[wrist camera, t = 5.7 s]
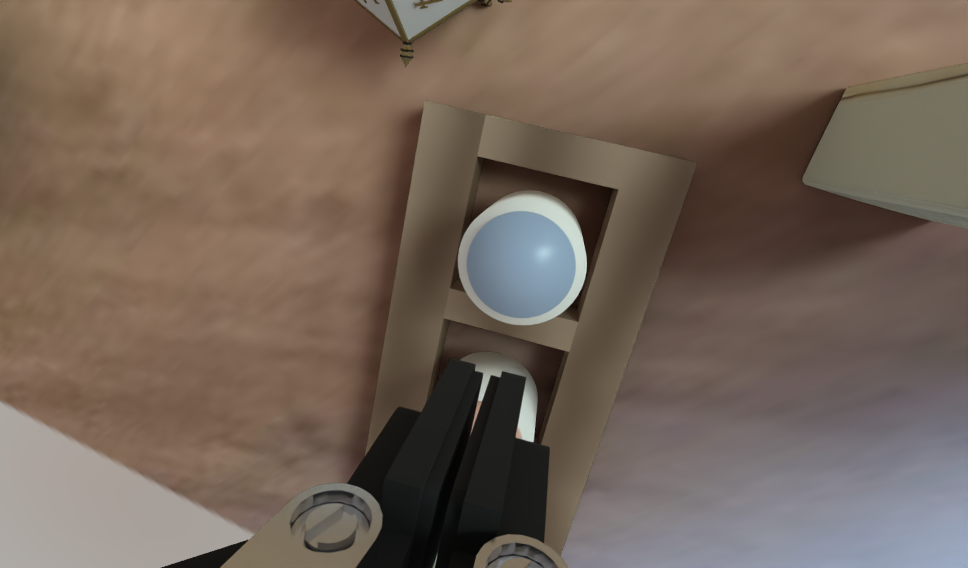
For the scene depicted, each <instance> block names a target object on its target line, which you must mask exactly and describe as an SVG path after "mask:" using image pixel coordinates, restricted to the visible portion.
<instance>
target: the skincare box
mask: <svg viewBox="0 0 968 568" xmlns="http://www.w3.org/2000/svg"><path fill="white" fill-rule="evenodd" d="M802 182H803V183H804V184H806V185H808V186H812V187H815V188H818V189H821V190H824V191H827V192H831V193H834V194H837V195H840V196H844V197H847V198H850V199H854V200H857V201H861V202H864V203H868V204H871V205H875V206H878V207H882V208H885V209H889V210H892V211H896V212H900V213H903V214H907V215H911V216H915V217H919V218H923V219H927V220H930V221H934V222H939V223H944V224H949V225H954V226H958V227H962V228H967V229H968V63H964V64H959V65H954V66H949V67H943V68H938V69H933V70H929V71H924V72H918V73H914V74H909V75H904V76H898V77H893V78H889V79H884V80H879V81H874V82H869V83H864V84H859V85H854V86H850V87H848V88H847V89H846V90H845V92H844V94H843V96H842V98H841V100H840V102H839V104H838V106H837V108H836V110H835V112H834V114H833V116H832V118H831V120H830V122H829V124H828V126H827V128H826V130H825V132H824V134H823V136H822V138H821V140H820V142H819V144H818V146H817V148H816V150H815V153H814V155H813V157H812V159H811V161H810V163H809V165H808V167H807V169H806V171H805V173H804V176H803V179H802Z"/></svg>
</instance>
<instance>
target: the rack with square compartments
mask: <svg viewBox="0 0 968 568" xmlns="http://www.w3.org/2000/svg"><path fill="white" fill-rule="evenodd" d="M484 158H487V159H492V160H496V161H500V162H504V163H508V164H513V165H517V166H521V167H525V168H530V169H534V170H538V171H542V172H546V173H551V174H555V175H559V176H563V177H568V178H572V179H576V180H580V181H584V182H589V183H593V184H597V185H601V186H606V187H610V188H613V191H612V195H611V198H610V201H609V205H608V208H607V211H606V215H605V218H604V221H603V225H602V228H601V231H600V235H599V238H598V241H597V245H596V248H595V251H594V254H593V258H592V261H591V264H590V268H589V271H588V274H587V278H586V281H585V284H584V288H583V291H582V294H581V298H580V301H579V304H578V308H577V309H576V308H572V307H568V308H567V309H566V310H565V311H563V312H562V313H561V314H559V315H558V316H556V317H554V318H552V319H550V320H548V321H545V322H542V323H539V324H533V325H513V324H508V323H505V322H502V321H499V320H496V319H494V318H492V317H490V316H489V315H487V314H486V313H484V312H483V311H482V310H481V309H479V308H478V307H477V306H476V305H475V304H474V303H473V302H472V300H471V299H470V297H469V296H468V295H467V293H466V291H465V289H464V287H463V285H462V282H461V279H460V278H458V277H459V269H458V253H459V248H460V244H461V241H462V238H463V236H464V234H465V232H466V230H467V229H468V227H469V225H470V221H471V216H472V211H473V207H474V202H475V197H476V192H477V188H478V183H479V178H480V174H481V169H482V164H483V159H484ZM696 166H697V162H692V161H688V160H683V159H679V158H675V157H670V156H666V155H662V154H657V153H653V152H648V151H644V150H640V149H635V148H631V147H626V146H622V145H618V144H613V143H609V142H605V141H600V140H596V139H591V138H587V137H583V136H578V135H574V134H570V133H565V132H561V131H556V130H552V129H548V128H543V127H539V126H534V125H530V124H526V123H521V122H517V121H513V120H508V119H504V118H499V117H495V116H491V115H486V114H482V113H477V112H473V111H469V110H464V109H460V108H456V107H451V106H447V105H442V104H438V103H434V102H429V101H425V102H424V108H423V114H422V120H421V126H420V132H419V138H418V144H417V150H416V155H415V161H414V167H413V173H412V179H411V185H410V191H409V197H408V203H407V209H406V215H405V221H404V227H403V233H402V239H401V244H400V250H399V256H398V262H397V268H396V274H395V280H394V286H393V292H392V298H391V304H390V310H389V316H388V322H387V327H386V333H385V339H384V345H383V351H382V357H381V363H380V369H379V375H378V381H377V387H376V393H375V399H374V405H373V410H372V416H371V422H370V428H369V434H368V440H367V446H366V452H365V456H366V454H367V452H368V451H369V449H370V448H371V446H372V445H373V443H374V442H375V440H376V439H377V437H378V436H379V434H380V433H381V431H382V430H383V428H384V427H385V425H386V423H387V422H388V420H389V419H390V417H391V416H392V414H393V413H394V411H395V410H396V409H397V408H398V407H400V406H401V407H404V408H408V409H412V410H416V411H419V412H422V410H423V408H424V406H425V404H426V403H427V401H428V399H429V397H430V395H431V393H432V392H433V390H434V388H435V386H436V381H437V376H438V371H439V367H440V362H441V357H442V353H443V348H444V343H445V338H446V334H447V329H448V324H449V320H453V321H456V322H460V323H464V324H467V325H471V326H475V327H478V328H482V329H486V330H490V331H493V332H497V333H501V334H504V335H508V336H512V337H515V338H519V339H523V340H527V341H530V342H534V343H538V344H541V345H545V346H549V347H552V348H556V349H560V350H564V354H563V358H562V361H561V364H560V368H559V371H558V374H557V378H556V381H555V384H554V388H553V391H552V394H551V398H550V401H549V404H548V408H547V411H546V414H545V417H544V421H543V424H542V427H541V431H540V434H539V437H536V436H534V443H538V444H541V445H545V446H549V448H550V456H549V473H548V489H547V506H546V522H545V539H544V544H546V545H547V546H549V547H551V548H552V549H553V550H554V551H555V552H556V553H557V554H558V555H559V556H560V555H561V553H562V550H563V547H564V544H565V541H566V538H567V535H568V533H569V530H570V527H571V524H572V521H573V518H574V515H575V513H576V510H577V507H578V504H579V501H580V498H581V495H582V492H583V490H584V487H585V484H586V481H587V478H588V475H589V472H590V470H591V467H592V464H593V461H594V458H595V455H596V452H597V450H598V447H599V444H600V441H601V438H602V435H603V432H604V430H605V427H606V424H607V421H608V418H609V415H610V412H611V410H612V407H613V404H614V401H615V398H616V395H617V392H618V389H619V387H620V384H621V381H622V378H623V375H624V372H625V369H626V367H627V364H628V361H629V358H630V355H631V352H632V349H633V347H634V344H635V341H636V338H637V335H638V332H639V329H640V327H641V324H642V321H643V318H644V315H645V312H646V309H647V307H648V304H649V301H650V298H651V295H652V292H653V289H654V286H655V284H656V281H657V278H658V275H659V272H660V269H661V266H662V264H663V261H664V258H665V255H666V252H667V249H668V246H669V244H670V241H671V238H672V235H673V232H674V229H675V226H676V224H677V221H678V218H679V215H680V212H681V209H682V206H683V204H684V201H685V198H686V195H687V192H688V189H689V186H690V183H691V181H692V178H693V175H694V172H695V169H696Z"/></svg>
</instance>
